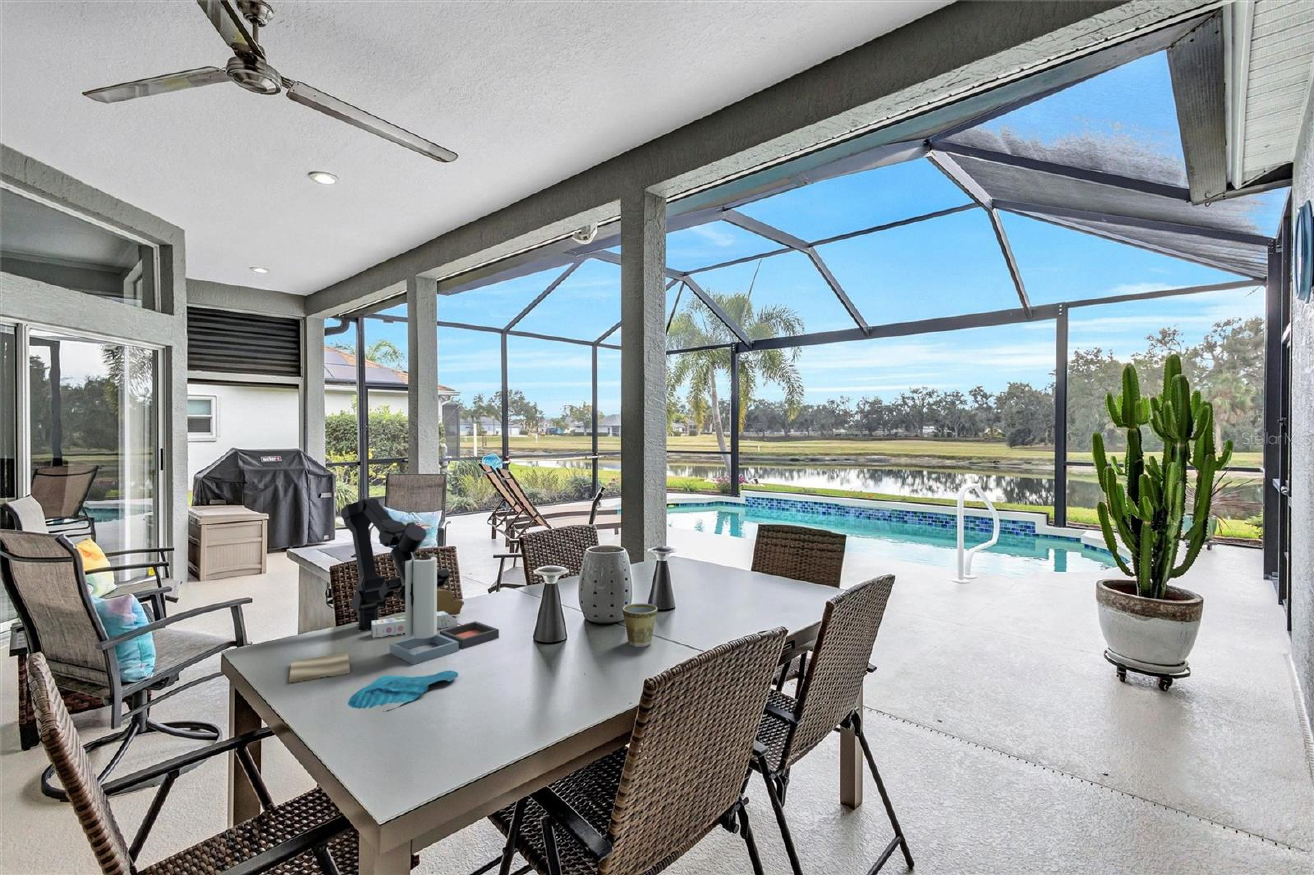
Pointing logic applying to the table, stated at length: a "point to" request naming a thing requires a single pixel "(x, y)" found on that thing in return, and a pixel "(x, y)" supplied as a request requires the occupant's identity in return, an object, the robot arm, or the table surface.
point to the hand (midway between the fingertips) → (426, 608)
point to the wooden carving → (448, 602)
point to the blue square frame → (445, 648)
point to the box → (398, 624)
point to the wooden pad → (319, 667)
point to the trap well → (471, 634)
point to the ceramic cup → (639, 623)
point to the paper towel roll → (421, 598)
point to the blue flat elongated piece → (396, 689)
